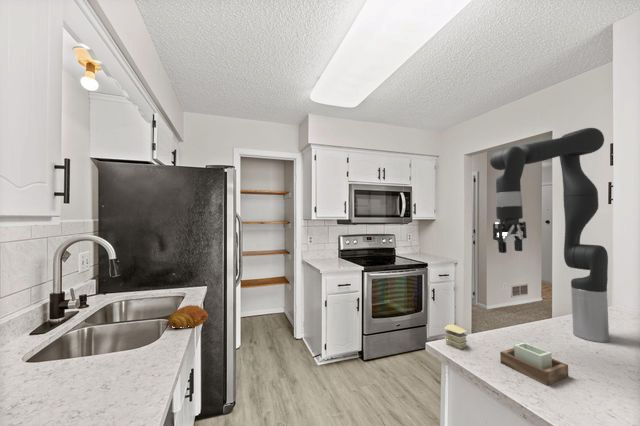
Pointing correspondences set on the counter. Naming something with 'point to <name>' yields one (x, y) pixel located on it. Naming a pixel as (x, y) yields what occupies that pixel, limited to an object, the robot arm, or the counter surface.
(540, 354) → the box
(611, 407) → the counter surface
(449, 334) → the stacked layers on plate
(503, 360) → the big crate
